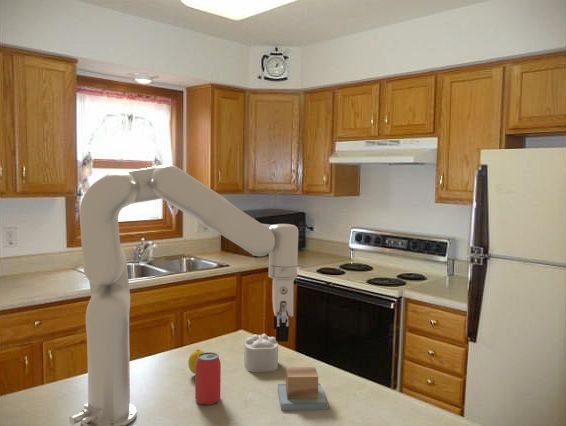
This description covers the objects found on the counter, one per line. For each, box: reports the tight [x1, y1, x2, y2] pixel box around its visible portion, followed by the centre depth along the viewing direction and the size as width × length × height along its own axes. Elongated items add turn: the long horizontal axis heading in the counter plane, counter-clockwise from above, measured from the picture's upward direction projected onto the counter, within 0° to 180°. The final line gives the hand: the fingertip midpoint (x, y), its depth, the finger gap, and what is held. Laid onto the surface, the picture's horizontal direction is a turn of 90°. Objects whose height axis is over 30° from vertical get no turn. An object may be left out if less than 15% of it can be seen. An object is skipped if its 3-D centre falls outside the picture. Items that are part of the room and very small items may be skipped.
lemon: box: [187, 348, 205, 374], centre depth 143 cm, size 6×6×8 cm
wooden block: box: [285, 366, 319, 399], centre depth 129 cm, size 6×8×6 cm
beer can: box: [194, 351, 222, 406], centre depth 128 cm, size 7×7×12 cm
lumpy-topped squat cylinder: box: [243, 333, 279, 373], centre depth 153 cm, size 10×13×9 cm
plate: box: [277, 382, 328, 411], centre depth 130 cm, size 12×12×2 cm
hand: (280, 335), depth 128 cm, fingers open, 9 cm apart
